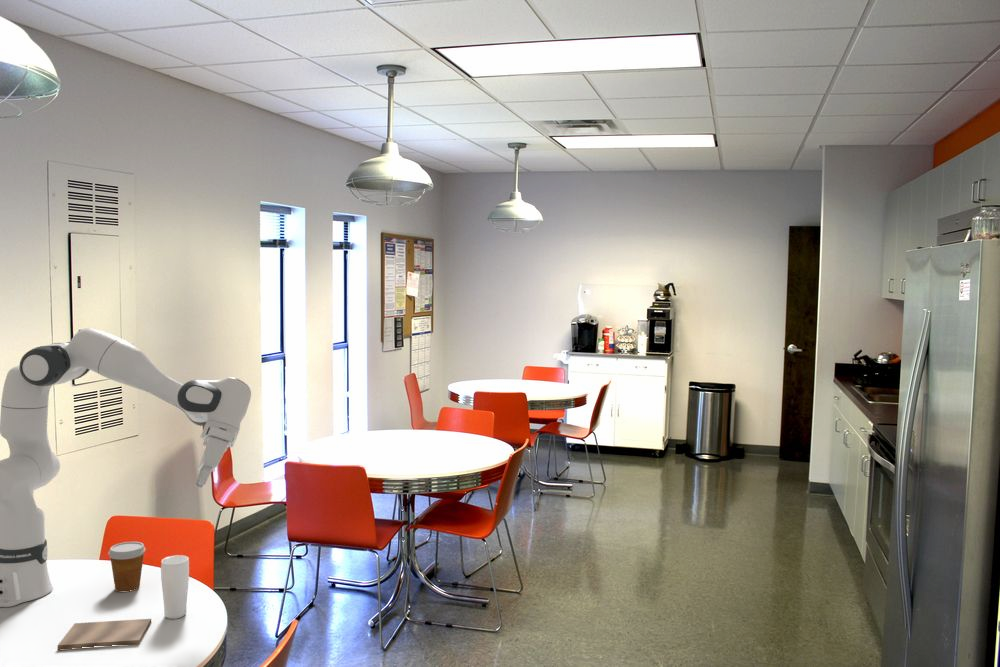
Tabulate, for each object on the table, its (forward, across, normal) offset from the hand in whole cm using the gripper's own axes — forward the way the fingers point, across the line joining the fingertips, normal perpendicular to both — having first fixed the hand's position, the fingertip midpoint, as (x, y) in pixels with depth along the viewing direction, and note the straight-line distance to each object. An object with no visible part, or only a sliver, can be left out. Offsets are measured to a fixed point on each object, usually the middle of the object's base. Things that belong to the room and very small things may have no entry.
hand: (199, 486), depth 204 cm
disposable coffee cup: (+30, -34, -7) cm, 45 cm away
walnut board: (+40, -4, -8) cm, 41 cm away
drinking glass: (+32, -10, +7) cm, 35 cm away
